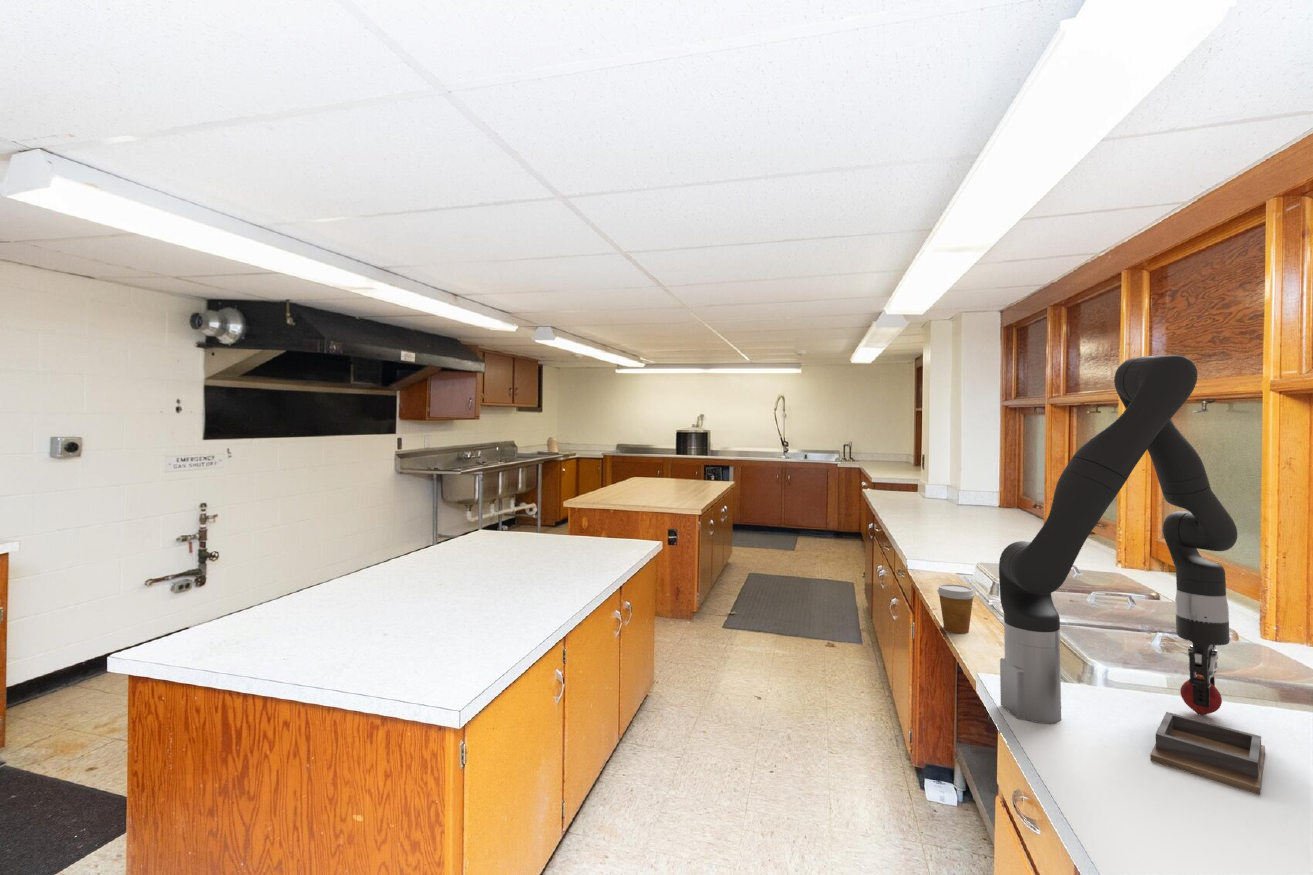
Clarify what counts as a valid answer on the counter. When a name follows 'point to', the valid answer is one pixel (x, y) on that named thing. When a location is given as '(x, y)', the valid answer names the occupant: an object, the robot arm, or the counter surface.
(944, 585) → the disposable coffee cup
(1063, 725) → the counter surface
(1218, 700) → the onion
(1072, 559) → the robot arm
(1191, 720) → the pocket board
